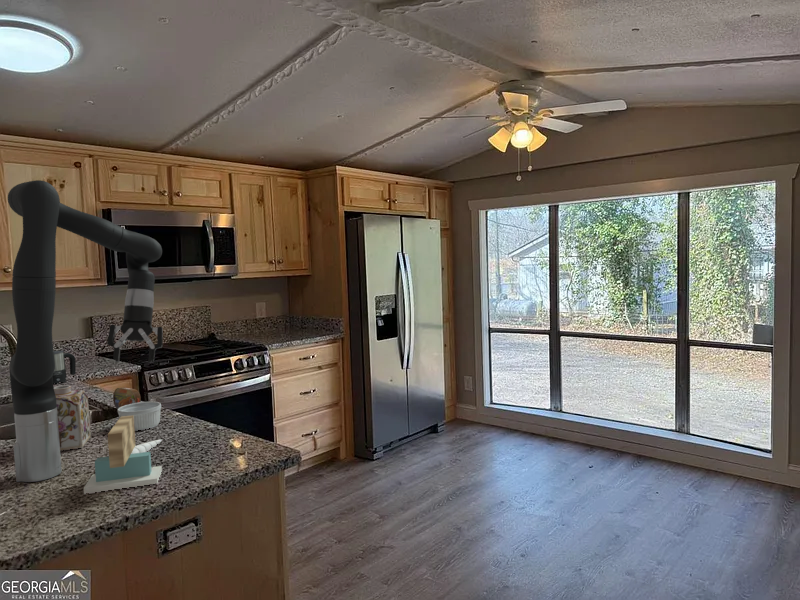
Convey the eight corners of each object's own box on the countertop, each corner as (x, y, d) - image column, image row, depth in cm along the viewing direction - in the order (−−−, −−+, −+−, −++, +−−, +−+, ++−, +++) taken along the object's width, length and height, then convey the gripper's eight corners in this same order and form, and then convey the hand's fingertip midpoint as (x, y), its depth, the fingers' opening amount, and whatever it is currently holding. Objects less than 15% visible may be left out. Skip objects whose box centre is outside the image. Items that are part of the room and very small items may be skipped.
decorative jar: (91, 437, 177) (87, 381, 176) (83, 448, 166) (79, 388, 165) (48, 442, 173) (44, 384, 172) (37, 454, 162) (32, 392, 161)
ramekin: (113, 427, 188) (112, 406, 187) (154, 418, 197) (153, 399, 196) (126, 435, 178) (124, 413, 178) (168, 426, 187) (167, 405, 186)
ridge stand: (84, 494, 132) (82, 467, 132) (93, 480, 141) (91, 454, 140) (157, 484, 137) (155, 458, 136) (161, 471, 145) (160, 446, 145)
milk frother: (52, 385, 259) (49, 354, 258) (29, 383, 265) (27, 352, 264) (80, 379, 272) (78, 349, 271) (58, 377, 278) (56, 348, 277)
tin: (113, 408, 213) (111, 386, 212) (121, 406, 215) (119, 385, 215) (135, 414, 204) (133, 391, 203) (143, 411, 207) (141, 389, 206)
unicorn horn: (173, 441, 170) (172, 426, 170) (123, 471, 147) (121, 453, 147) (159, 441, 171) (157, 426, 171) (107, 470, 148) (105, 453, 147)
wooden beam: (124, 466, 131) (121, 432, 131) (109, 468, 131) (107, 434, 130) (135, 445, 147) (133, 415, 146) (123, 446, 146) (120, 416, 145)
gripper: (109, 302, 158) (103, 360, 155) (164, 305, 162) (159, 362, 159) (114, 306, 165) (108, 362, 162) (166, 309, 169) (161, 363, 166)
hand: (133, 362), depth 160 cm, fingers open, 8 cm apart
